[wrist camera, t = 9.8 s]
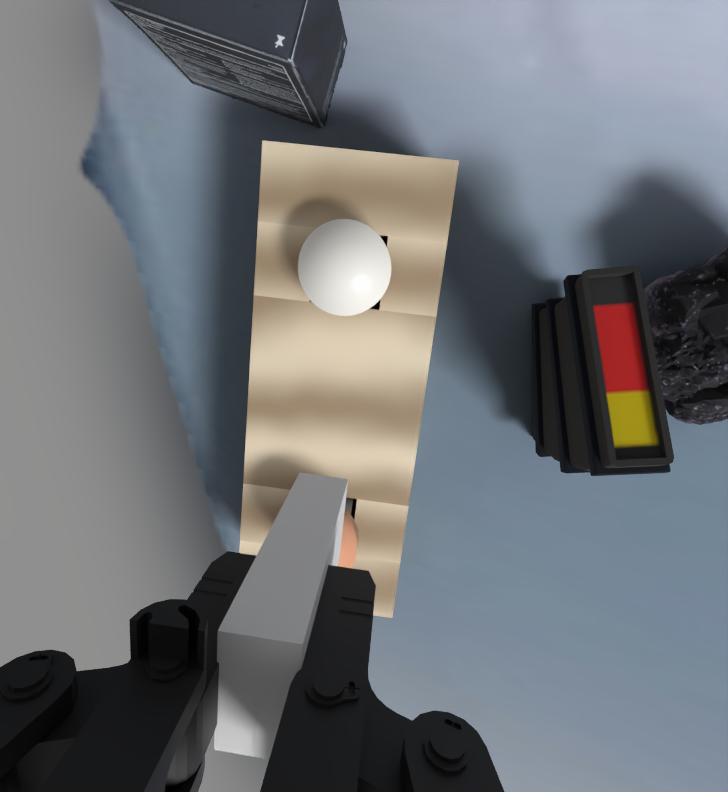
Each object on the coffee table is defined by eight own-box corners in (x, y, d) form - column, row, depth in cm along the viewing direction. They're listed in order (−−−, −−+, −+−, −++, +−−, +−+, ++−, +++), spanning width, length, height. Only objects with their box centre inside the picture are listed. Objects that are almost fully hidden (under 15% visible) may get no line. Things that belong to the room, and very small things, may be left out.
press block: (288, 167, 36) (262, 140, 29) (447, 184, 35) (459, 160, 28) (262, 546, 43) (236, 594, 37) (393, 564, 43) (392, 617, 36)
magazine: (532, 484, 38) (604, 474, 24) (514, 329, 41) (569, 236, 27) (580, 481, 38) (683, 470, 23) (559, 326, 41) (639, 230, 26)
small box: (352, 34, 34) (331, -75, 23) (324, 131, 35) (293, 69, 25) (210, -15, 34) (126, -145, 23) (189, 84, 35) (102, 3, 25)
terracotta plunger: (298, 463, 38) (274, 506, 31) (368, 472, 38) (360, 518, 30) (293, 526, 39) (268, 582, 32) (360, 536, 39) (351, 594, 32)
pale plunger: (322, 228, 35) (301, 214, 28) (397, 236, 35) (396, 224, 28) (315, 304, 36) (294, 310, 29) (388, 313, 36) (384, 321, 29)
